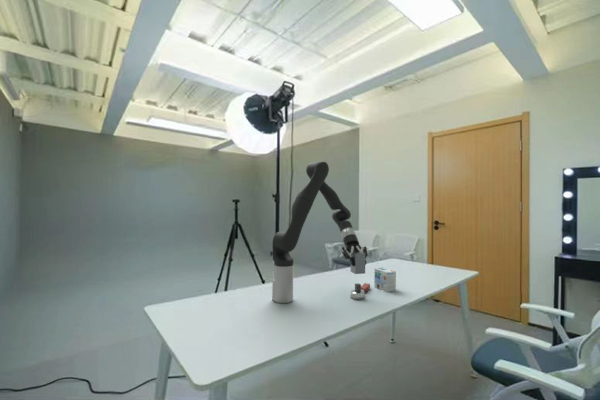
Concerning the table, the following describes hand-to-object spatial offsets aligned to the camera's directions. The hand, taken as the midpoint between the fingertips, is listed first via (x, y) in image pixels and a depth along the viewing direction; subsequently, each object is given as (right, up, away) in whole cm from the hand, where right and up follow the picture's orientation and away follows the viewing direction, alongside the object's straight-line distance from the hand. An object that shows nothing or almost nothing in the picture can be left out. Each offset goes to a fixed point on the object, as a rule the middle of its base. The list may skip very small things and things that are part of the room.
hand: (359, 264), depth 142 cm
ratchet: (+3, -17, +8) cm, 19 cm away
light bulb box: (+18, -18, +18) cm, 31 cm away
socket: (-1, -4, +2) cm, 5 cm away
